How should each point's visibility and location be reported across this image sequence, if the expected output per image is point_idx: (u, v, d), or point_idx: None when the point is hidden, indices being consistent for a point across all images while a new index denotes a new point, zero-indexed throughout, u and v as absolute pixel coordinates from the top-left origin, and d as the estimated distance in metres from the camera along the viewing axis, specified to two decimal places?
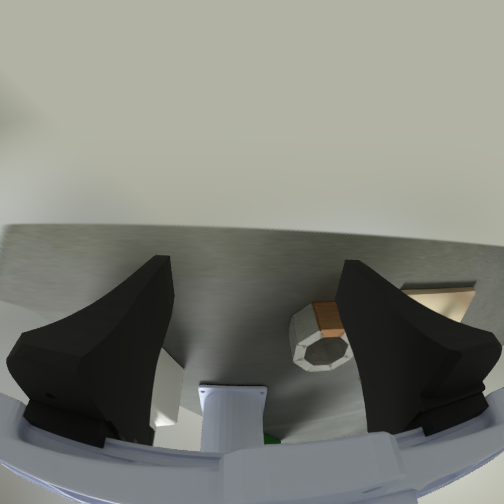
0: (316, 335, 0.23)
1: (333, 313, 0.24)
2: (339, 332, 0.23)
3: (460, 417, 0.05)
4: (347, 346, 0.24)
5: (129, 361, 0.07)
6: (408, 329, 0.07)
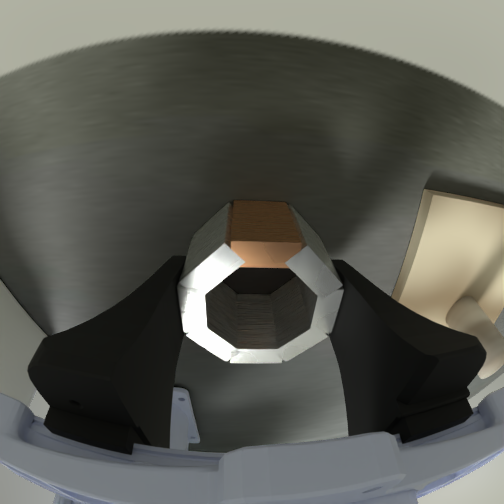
0: (222, 260, 0.09)
1: (275, 216, 0.10)
2: (284, 255, 0.09)
3: (441, 424, 0.05)
4: (315, 302, 0.10)
5: (155, 364, 0.07)
6: (385, 331, 0.07)
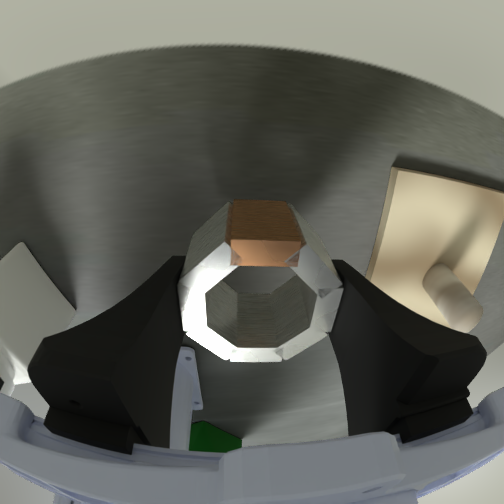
0: (222, 259, 0.09)
1: (275, 215, 0.10)
2: (284, 253, 0.09)
3: (440, 424, 0.05)
4: (315, 300, 0.10)
5: (154, 364, 0.07)
6: (386, 331, 0.07)
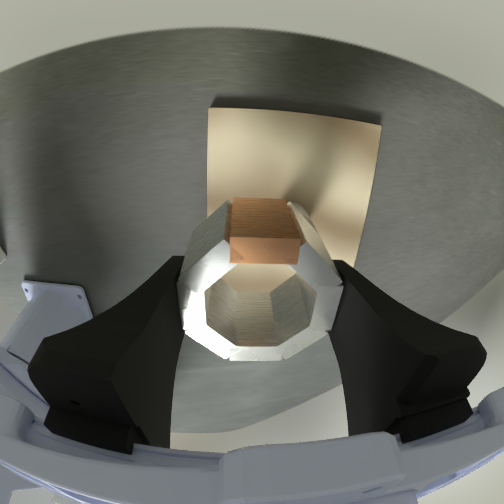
0: (221, 257, 0.09)
1: (274, 213, 0.10)
2: (283, 251, 0.09)
3: (440, 424, 0.05)
4: (315, 298, 0.10)
5: (154, 364, 0.07)
6: (385, 331, 0.07)
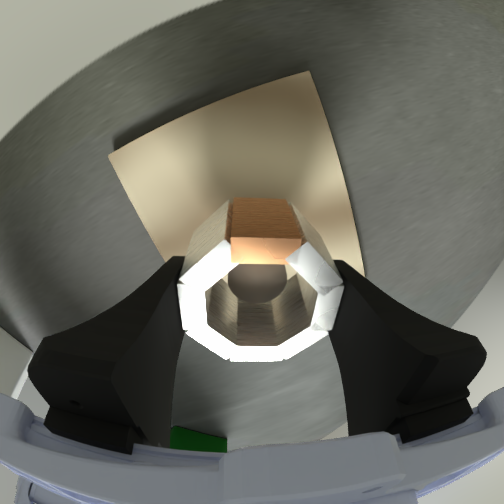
0: (222, 257, 0.09)
1: (275, 213, 0.10)
2: (284, 251, 0.09)
3: (440, 425, 0.05)
4: (316, 298, 0.10)
5: (154, 364, 0.07)
6: (385, 331, 0.07)
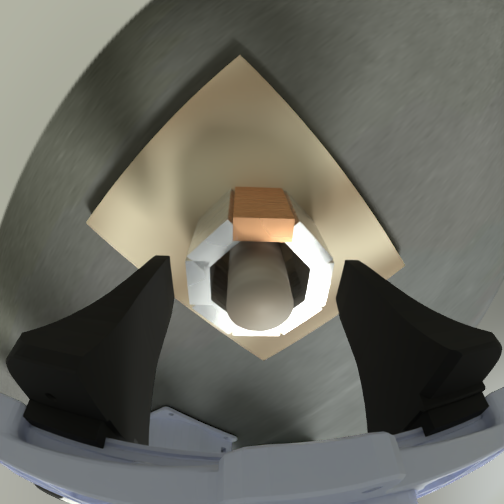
0: (225, 235, 0.10)
1: (272, 199, 0.12)
2: (280, 230, 0.10)
3: (460, 417, 0.05)
4: (309, 274, 0.11)
5: (129, 361, 0.07)
6: (408, 329, 0.07)
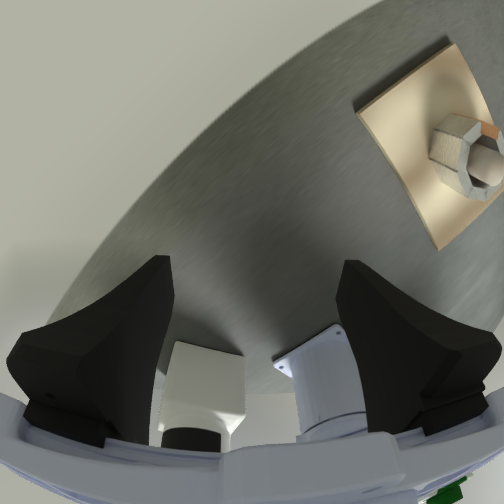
0: (478, 129, 0.13)
1: None
2: (494, 132, 0.13)
3: (460, 417, 0.05)
4: None
5: (129, 361, 0.07)
6: (408, 329, 0.07)
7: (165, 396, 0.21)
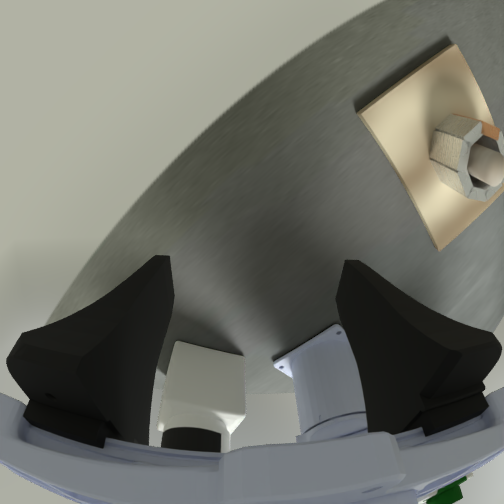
0: (479, 129, 0.13)
1: None
2: (495, 133, 0.13)
3: (460, 417, 0.05)
4: None
5: (129, 361, 0.07)
6: (408, 329, 0.07)
7: (165, 396, 0.21)
